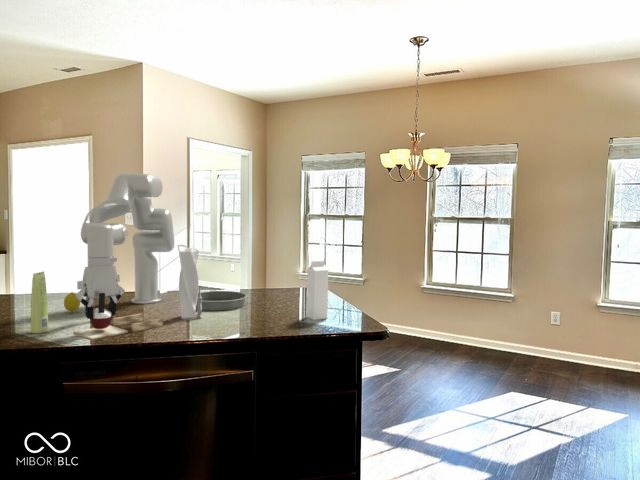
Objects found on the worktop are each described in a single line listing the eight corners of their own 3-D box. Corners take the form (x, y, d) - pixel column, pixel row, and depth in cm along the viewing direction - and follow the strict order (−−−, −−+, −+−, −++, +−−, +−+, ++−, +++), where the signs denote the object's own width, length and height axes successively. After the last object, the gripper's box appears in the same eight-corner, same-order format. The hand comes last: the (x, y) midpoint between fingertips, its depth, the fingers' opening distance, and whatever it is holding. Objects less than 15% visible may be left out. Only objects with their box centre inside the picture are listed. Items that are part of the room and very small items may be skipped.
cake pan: (177, 308, 192) (177, 297, 192) (212, 298, 215) (212, 289, 215) (226, 313, 183) (227, 302, 183) (257, 303, 206) (257, 293, 205)
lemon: (73, 314, 176) (73, 293, 175) (60, 313, 177) (60, 293, 176) (83, 311, 181) (83, 291, 181) (71, 310, 182) (70, 290, 182)
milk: (327, 318, 176) (329, 261, 175) (313, 320, 173) (315, 262, 172) (319, 315, 182) (321, 260, 180) (306, 316, 179) (307, 260, 177)
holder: (141, 320, 168) (141, 313, 168) (162, 325, 160) (162, 318, 160) (112, 325, 159) (112, 318, 159) (133, 331, 152) (133, 324, 151)
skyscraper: (179, 321, 169) (179, 245, 168) (175, 316, 176) (175, 244, 175) (202, 319, 173) (202, 245, 171) (197, 314, 180) (198, 243, 179)
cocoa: (95, 325, 153) (94, 290, 153) (115, 324, 154) (114, 289, 154) (85, 331, 144) (84, 293, 144) (106, 330, 145) (105, 292, 145)
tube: (27, 331, 150) (26, 272, 149) (44, 328, 153) (44, 270, 152) (34, 334, 146) (33, 273, 145) (51, 331, 150) (50, 272, 149)
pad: (109, 326, 158) (109, 325, 158) (128, 332, 151) (128, 330, 151) (73, 333, 148) (73, 331, 148) (91, 339, 141) (91, 338, 141)
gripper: (120, 259, 158) (120, 310, 159) (67, 263, 144) (68, 319, 145) (131, 261, 153) (132, 314, 154) (78, 265, 139) (79, 323, 140)
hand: (101, 316), depth 149 cm, fingers closed on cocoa, 6 cm apart
